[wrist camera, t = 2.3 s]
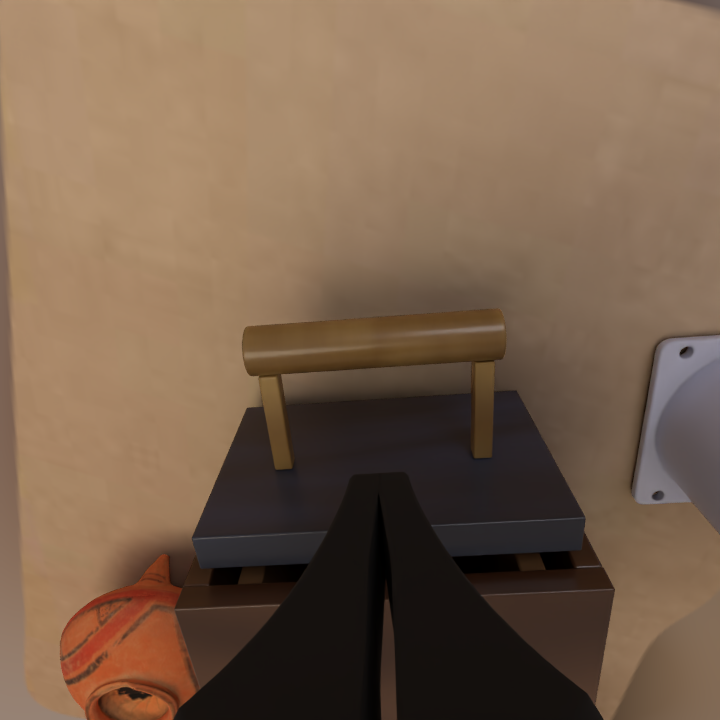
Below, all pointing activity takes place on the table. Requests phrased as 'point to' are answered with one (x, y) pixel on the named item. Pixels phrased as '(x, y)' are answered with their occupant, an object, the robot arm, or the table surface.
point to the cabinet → (500, 589)
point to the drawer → (386, 451)
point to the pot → (129, 652)
